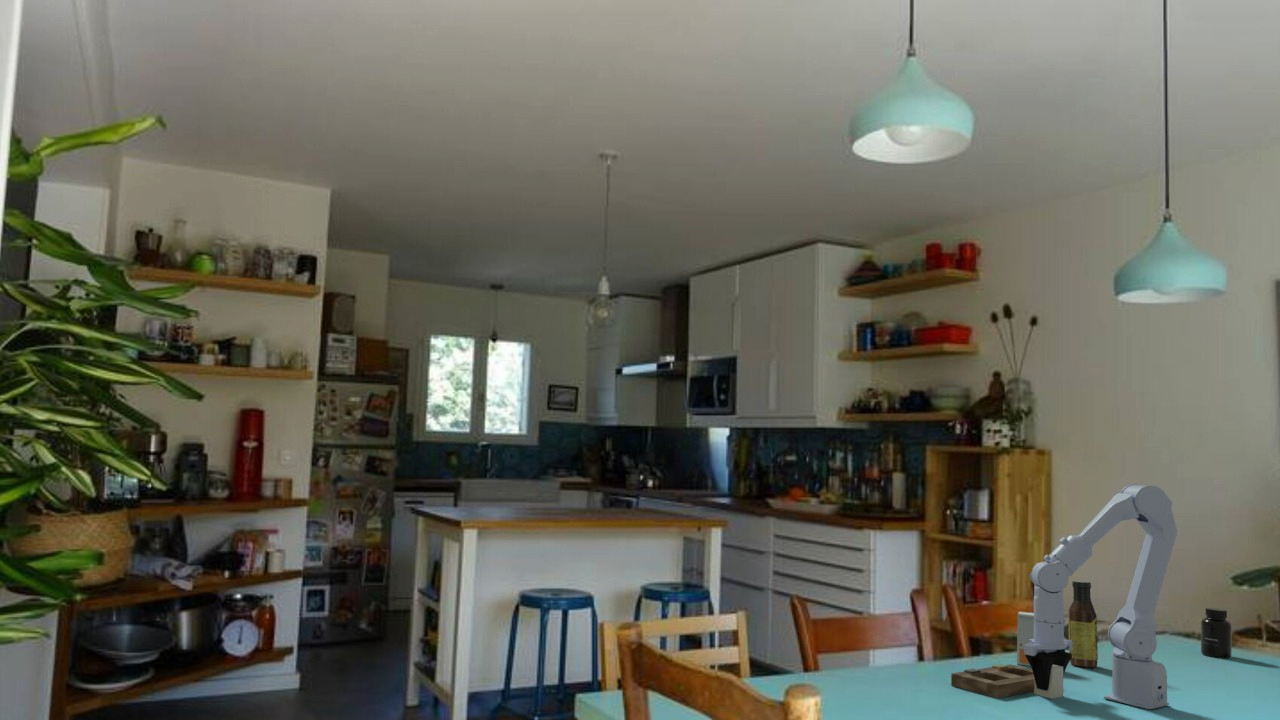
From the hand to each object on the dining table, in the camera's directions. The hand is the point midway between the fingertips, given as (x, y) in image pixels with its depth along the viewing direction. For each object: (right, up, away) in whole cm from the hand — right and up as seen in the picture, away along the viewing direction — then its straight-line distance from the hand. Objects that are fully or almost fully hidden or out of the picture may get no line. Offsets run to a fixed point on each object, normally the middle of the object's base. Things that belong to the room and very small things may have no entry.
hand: (1048, 688), depth 192 cm
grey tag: (-13, +1, +7) cm, 15 cm away
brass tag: (-5, 0, +13) cm, 14 cm away
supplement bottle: (+66, -10, +51) cm, 84 cm away
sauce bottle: (+22, -6, +31) cm, 38 cm away
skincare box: (+9, -5, +29) cm, 31 cm away
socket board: (-7, -2, +6) cm, 9 cm away
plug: (0, -1, 0) cm, 1 cm away
